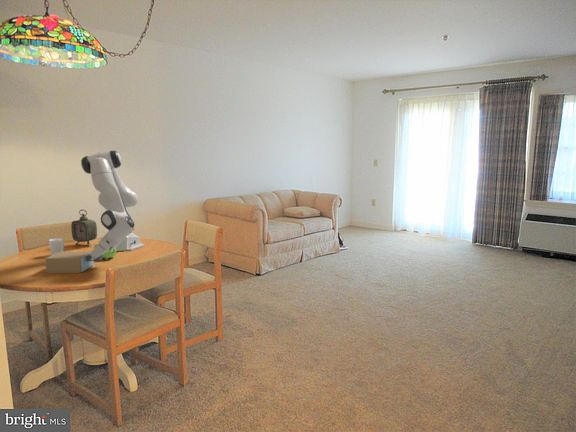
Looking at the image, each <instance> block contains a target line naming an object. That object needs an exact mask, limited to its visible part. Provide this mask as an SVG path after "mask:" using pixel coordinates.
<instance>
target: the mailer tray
mask: <svg viewBox="0 0 576 432" xmlns="http://www.w3.org/2000/svg"><path fill="white" fill-rule="evenodd" d="M90 254H91V253H89V254H87V255H85V256H84V257H82V258H80V263H81V273H83V272H84V271H86V270H88V269H90V268H92V266H94V265H95V262H100V261H102V260H103V258H102V255H101V256H99V257H97V258H96V259H95V260H94V261H92V260H90V259H91V256H90Z"/></svg>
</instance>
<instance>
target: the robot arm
mask: <svg viewBox="0 0 576 432" xmlns="http://www.w3.org/2000/svg"><path fill="white" fill-rule="evenodd" d="M122 161H123V160H122V157H121V155H120V153H119V152H118V151H117V150H109V151H102V152H97V153H93V154H90V155H85V156H83V157H82V159H81V160H80V165H81V169H82V170H83V172H84V173H86V174H88V175H89V174H90V175H91V176H90V177H91V181H92V184H93V187H94V189H95V190H97V191H98V192H99V194H98V198H97V199H98V203H99V204H100V206H102V207H103V208H104V209H105V211H103V213H102V215H101V216H100V223H101V225H102V226H103V227H104V228H105V229H106V230H108V231H107V232H106V233H105V234H104V235H103V237H102V238H100V239H99V241H98V244H97V246H96V247H95V248H93V249H92V250H91V251H90V252H91V254H90V256H91V259H90V260H92V261H94V260H95V259H96V258H97V257H99V256H101V255H102V254H104V253H106V252H107V251H109V250H110V249H115V248H116V250H117V252H124V251H134V250H136V249H138V248H141V247H144V246H145V243H142V242H141V238H140V236H138V235H136V234H135V233H134V232H133V231H135V222H134V219H132V217H131V215H130V213H128V210H127V208H132V207H135V206H137V205H138V202H139V196H138V194H137V193H136V192H135V191H133V190H132V189H130V188H129V187H127V185H126V184H125V183H124V182H123V180H122V177H121V176H120V174H119V171H118V168H120V167H121V165H122ZM94 262H95V261H94Z"/></svg>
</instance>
